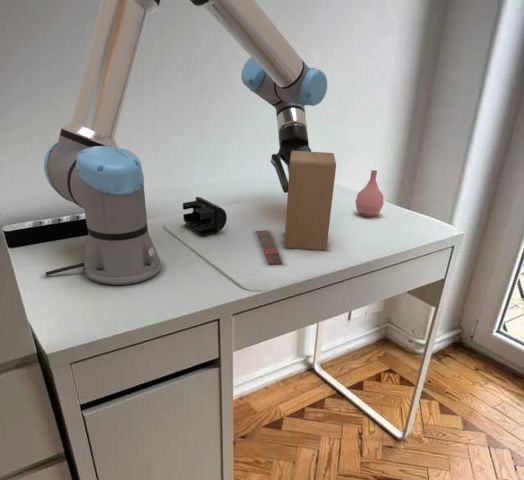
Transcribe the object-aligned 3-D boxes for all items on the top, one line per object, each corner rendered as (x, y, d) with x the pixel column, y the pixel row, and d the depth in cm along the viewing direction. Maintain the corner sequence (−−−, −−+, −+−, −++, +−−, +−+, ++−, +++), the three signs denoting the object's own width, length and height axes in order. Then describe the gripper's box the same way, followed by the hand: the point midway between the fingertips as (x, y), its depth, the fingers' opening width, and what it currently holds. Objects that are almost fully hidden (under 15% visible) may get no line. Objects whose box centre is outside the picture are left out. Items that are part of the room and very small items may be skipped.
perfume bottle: (364, 220, 136) (371, 175, 130) (348, 212, 142) (354, 168, 135) (387, 217, 139) (394, 173, 133) (370, 209, 145) (376, 166, 138)
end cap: (227, 232, 125) (227, 205, 121) (202, 237, 122) (202, 210, 118) (206, 220, 132) (206, 195, 128) (182, 225, 128) (181, 199, 124)
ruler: (256, 232, 126) (256, 230, 126) (268, 232, 126) (268, 230, 126) (268, 264, 110) (268, 262, 109) (282, 264, 110) (282, 262, 110)
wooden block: (325, 235, 126) (334, 152, 114) (326, 251, 117) (336, 162, 106) (285, 233, 126) (291, 150, 115) (284, 248, 118) (289, 160, 107)
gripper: (313, 141, 134) (322, 223, 129) (265, 141, 132) (273, 224, 127) (320, 123, 126) (330, 209, 122) (269, 122, 125) (277, 210, 120)
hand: (301, 216), depth 125 cm, fingers closed
